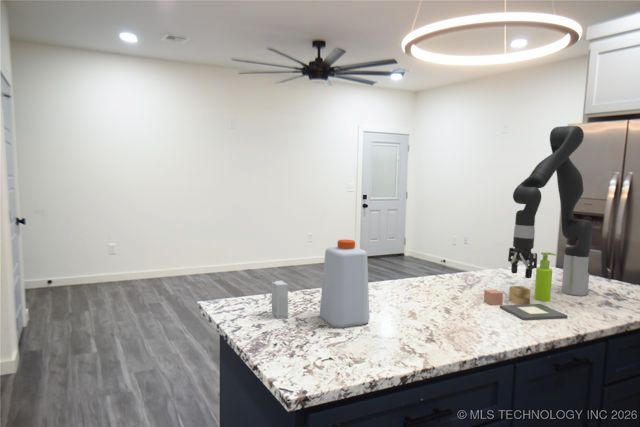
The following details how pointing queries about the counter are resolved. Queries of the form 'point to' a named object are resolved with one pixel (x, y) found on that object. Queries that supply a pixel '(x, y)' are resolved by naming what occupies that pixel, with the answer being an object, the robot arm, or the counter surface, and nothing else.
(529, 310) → the grey flat slab
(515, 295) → the ochre block
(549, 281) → the soap dispenser
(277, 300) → the skincare box
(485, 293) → the terracotta block
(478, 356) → the counter surface
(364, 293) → the plastic bottle
